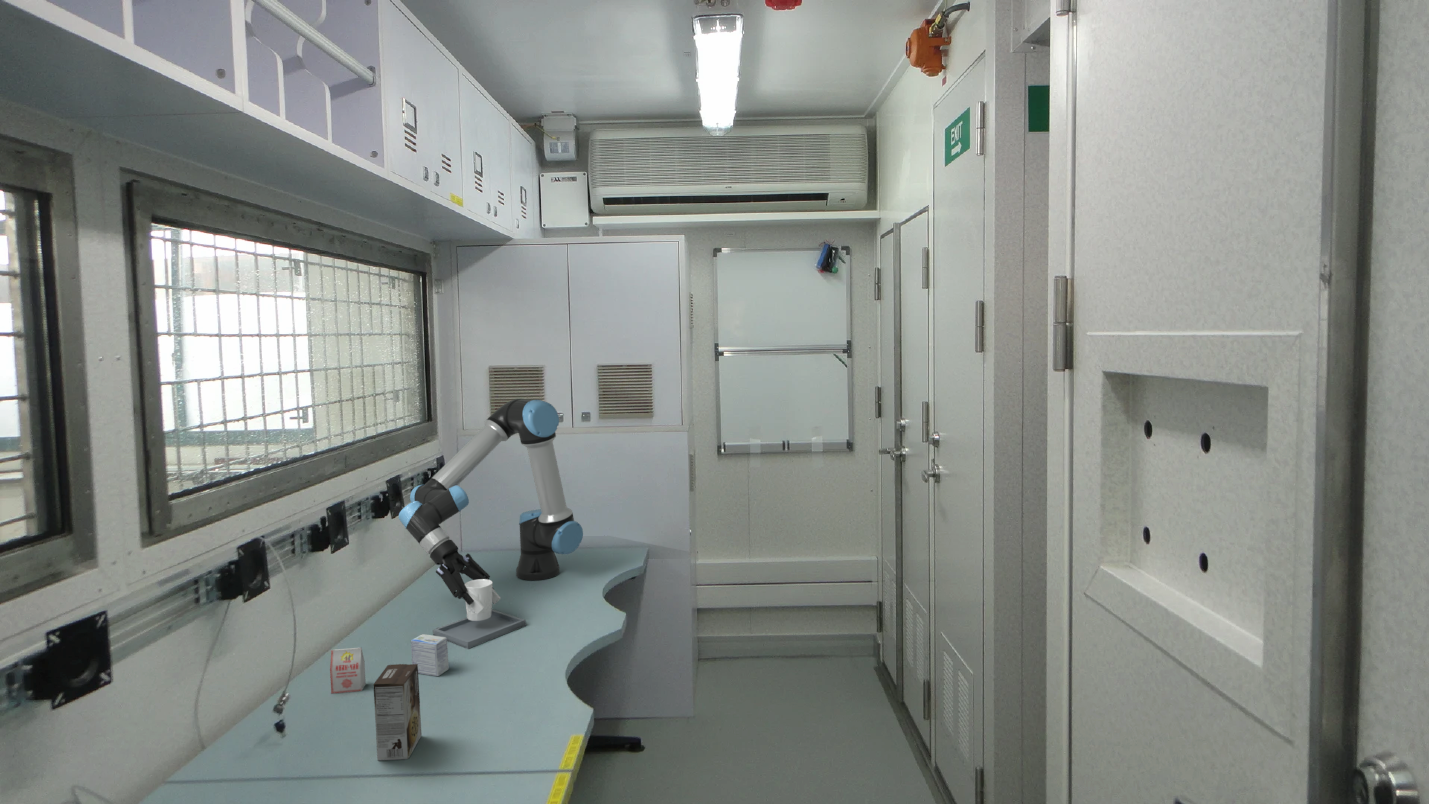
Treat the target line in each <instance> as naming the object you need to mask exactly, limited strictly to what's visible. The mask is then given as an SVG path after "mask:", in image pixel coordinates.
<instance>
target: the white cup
mask: <svg viewBox="0 0 1429 804" xmlns="http://www.w3.org/2000/svg"><path fill="white" fill-rule="evenodd" d="M464 584H465V586H466V589H467V592H468V591H471V592H472V593H473V594H474V596H475V597H476V598H477V599H478V600H479V602H480V603H481V604H482V605H483V606H484V609H483V610H482V611H481V612H480V613H479V614H477V613H476V612H475V611H474V610H473V609H472V607H471V606H470V605H468V604H467V602H466V601H465V600H464V602H465V609H466V618H468V620H471V621H481V620H485V619H488V618H490V617H491V615H492V607H493V603H492V587H493V581H492V580H491V579H489V580H487V579H478V580H472V579H471V580H469V581H466V582H464Z"/></svg>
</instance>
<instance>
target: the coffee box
mask: <svg viewBox="0 0 1429 804" xmlns="http://www.w3.org/2000/svg"><path fill="white" fill-rule="evenodd" d="M372 686H373V701H374V702H373V703H374V718H375V736H376V737H375V738H376V739H375V740H376V755H377V757H376V758H377V761H393V760H397V761H398V760H408V759H410V757H411V756H412V753H413V751H414V749H415V748H416V747H417V744H418V743H419V741H420V739H421V737H422V722H421V721H422V719H421V701H420V700H421V699H420V697H421V696H420V681H419V673H418V664H412V663H411V664H407V663H402V664H401V663H399V664H397V663H396V664H388V665H387V666H386V667H385V668H384V669H383V671H382V672H381V673H380V675H379V676H378V678H377V679H376V680H375V682H374V683H373V685H372Z"/></svg>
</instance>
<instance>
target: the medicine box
mask: <svg viewBox="0 0 1429 804" xmlns="http://www.w3.org/2000/svg"><path fill="white" fill-rule="evenodd" d="M410 647H411V664H418V674H421V675H426V676H427V675H428V676H434V677H439V676H441V675H443V674H445V673H446V672H447V671H448V670H449V669H450V667H449V651H448V650H449V649H448V641H447V638H446V637H440V636H433V634H425V633H423V634H420V635H417V637H415V638H412V639H411V640H410Z"/></svg>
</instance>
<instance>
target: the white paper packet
mask: <svg viewBox="0 0 1429 804" xmlns="http://www.w3.org/2000/svg"><path fill="white" fill-rule="evenodd" d="M330 652H331V653H330V665H329V673H330V675H329V676H330V691H331V693H330V694H343V693H354V692H362V691H363V689H364V688H365V686H366V684H367V683H366V664H365V661H366V660H365V658H364V653H363V647H353V648H352V647H350V648H340V649H339V648H337V649H331V650H330Z"/></svg>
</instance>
